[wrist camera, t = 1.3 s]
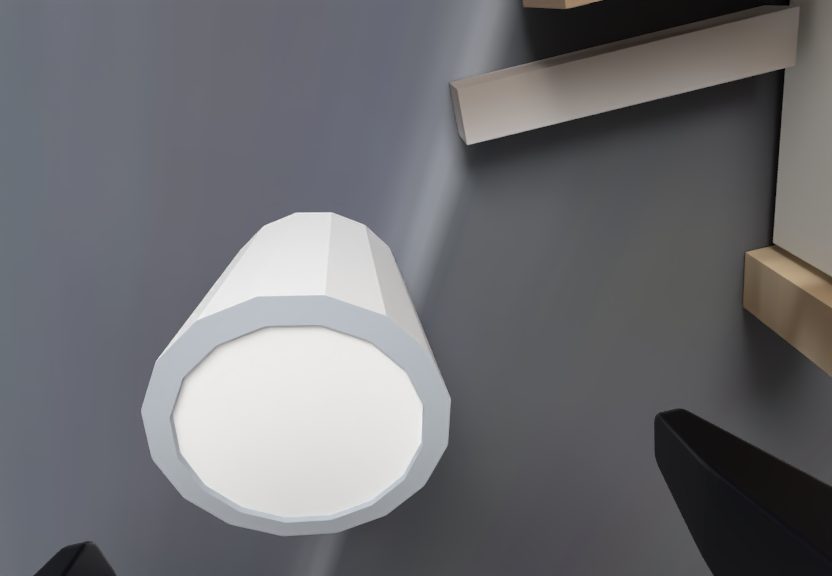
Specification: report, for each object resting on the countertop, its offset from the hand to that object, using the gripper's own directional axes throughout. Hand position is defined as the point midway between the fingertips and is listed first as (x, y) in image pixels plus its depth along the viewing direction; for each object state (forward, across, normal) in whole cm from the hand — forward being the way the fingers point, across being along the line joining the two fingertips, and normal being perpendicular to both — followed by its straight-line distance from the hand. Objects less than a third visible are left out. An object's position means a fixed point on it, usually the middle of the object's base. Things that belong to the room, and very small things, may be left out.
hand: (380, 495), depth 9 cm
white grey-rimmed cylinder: (+11, +2, +1) cm, 11 cm away
